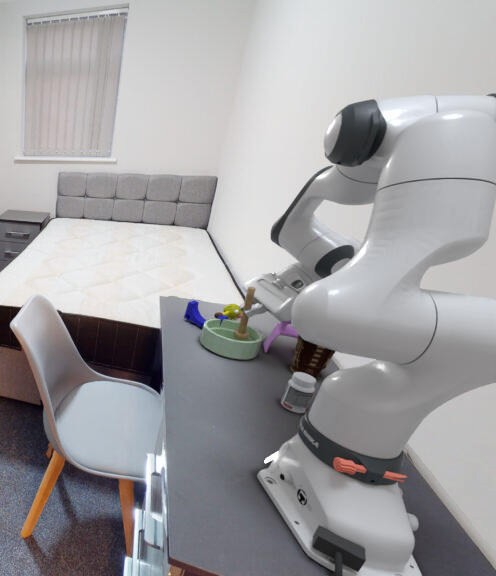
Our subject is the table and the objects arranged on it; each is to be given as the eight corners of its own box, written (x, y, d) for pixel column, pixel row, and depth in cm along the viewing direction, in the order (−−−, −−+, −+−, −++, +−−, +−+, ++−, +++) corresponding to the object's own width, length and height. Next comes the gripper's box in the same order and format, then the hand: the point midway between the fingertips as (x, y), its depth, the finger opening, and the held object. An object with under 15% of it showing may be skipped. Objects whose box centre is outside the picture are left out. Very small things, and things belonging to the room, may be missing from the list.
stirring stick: (249, 340, 107) (261, 290, 101) (234, 339, 108) (246, 289, 102) (246, 334, 110) (257, 286, 104) (232, 333, 111) (242, 285, 105)
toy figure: (222, 332, 119) (228, 313, 117) (205, 324, 124) (210, 306, 121) (252, 320, 128) (258, 302, 125) (236, 314, 132) (241, 296, 129)
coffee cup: (311, 364, 103) (328, 323, 98) (334, 382, 95) (354, 339, 90) (278, 362, 104) (293, 321, 99) (298, 380, 96) (316, 336, 91)
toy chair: (303, 363, 103) (323, 315, 98) (265, 353, 108) (282, 307, 102) (298, 350, 110) (317, 304, 104) (263, 341, 114) (278, 297, 108)
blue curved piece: (225, 332, 118) (231, 316, 116) (216, 335, 117) (222, 319, 114) (192, 314, 128) (197, 299, 125) (183, 317, 126) (188, 302, 124)
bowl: (263, 365, 102) (270, 346, 100) (204, 355, 106) (209, 337, 104) (247, 340, 115) (253, 323, 113) (195, 332, 119) (200, 315, 117)
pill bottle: (310, 415, 84) (323, 384, 81) (286, 412, 85) (299, 381, 81) (298, 401, 88) (310, 372, 85) (276, 398, 89) (287, 369, 86)
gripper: (266, 263, 110) (222, 290, 115) (309, 289, 91) (254, 320, 97) (278, 278, 111) (233, 305, 116) (323, 307, 92) (267, 337, 98)
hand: (243, 312), depth 106 cm, fingers closed on stirring stick, 2 cm apart
